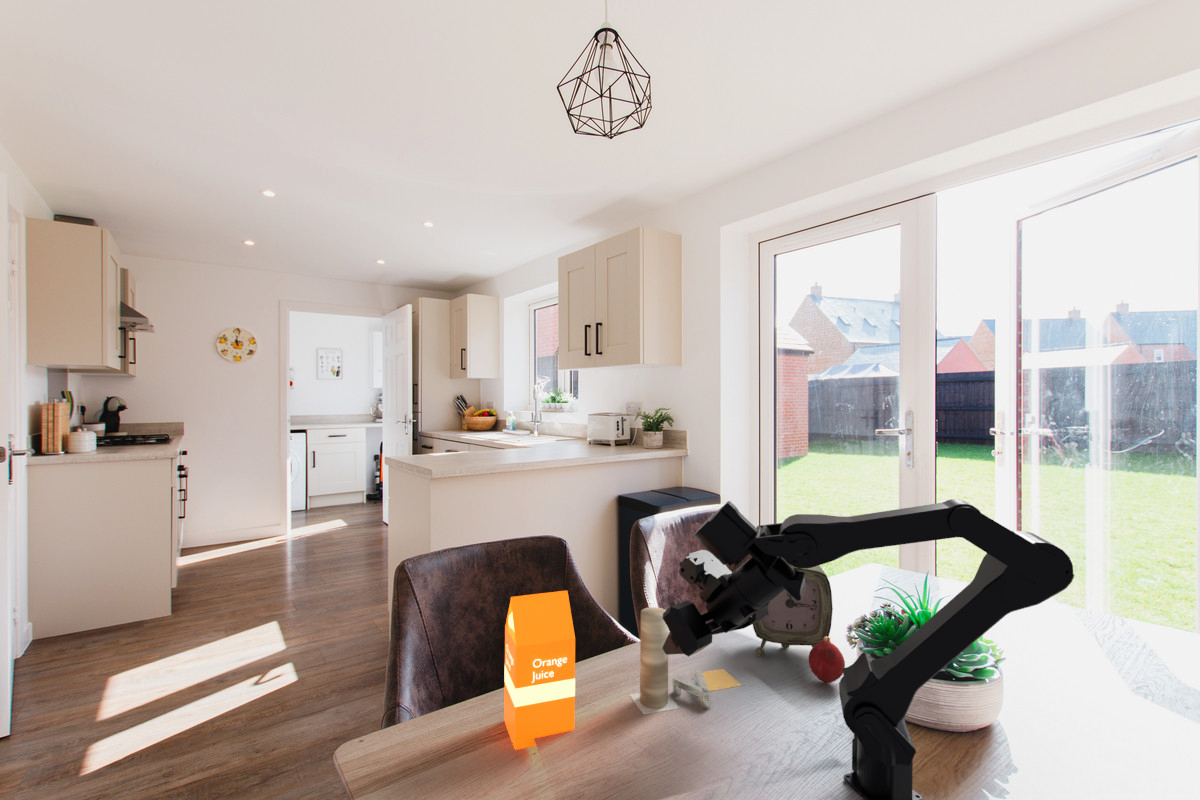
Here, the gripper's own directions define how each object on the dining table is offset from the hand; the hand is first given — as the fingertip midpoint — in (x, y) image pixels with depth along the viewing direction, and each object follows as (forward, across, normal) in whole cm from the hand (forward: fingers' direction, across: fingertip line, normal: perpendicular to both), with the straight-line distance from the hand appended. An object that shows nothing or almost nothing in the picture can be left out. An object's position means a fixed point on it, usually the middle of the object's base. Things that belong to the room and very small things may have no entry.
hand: (684, 641), depth 84 cm
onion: (+2, -28, +16) cm, 32 cm away
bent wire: (+10, -6, +7) cm, 13 cm away
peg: (+12, 0, +4) cm, 13 cm away
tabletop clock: (+10, -34, +8) cm, 36 cm away
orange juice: (+19, +17, -1) cm, 25 cm away
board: (+10, -6, +7) cm, 14 cm away
